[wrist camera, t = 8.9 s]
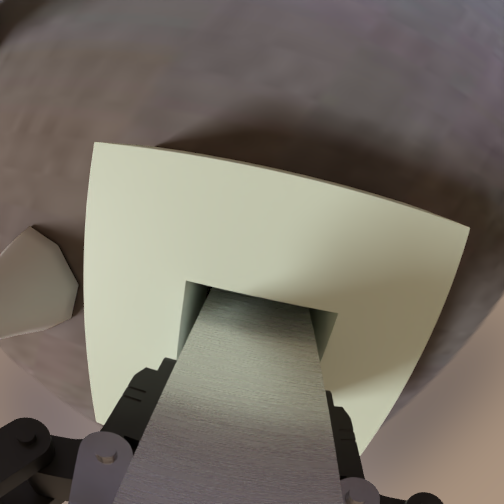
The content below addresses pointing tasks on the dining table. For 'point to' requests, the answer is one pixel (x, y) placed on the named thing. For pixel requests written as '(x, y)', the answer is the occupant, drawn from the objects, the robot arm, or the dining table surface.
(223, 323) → the rectangular block
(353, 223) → the well block
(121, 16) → the dining table surface
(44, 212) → the dining table surface
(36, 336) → the dining table surface
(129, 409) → the robot arm
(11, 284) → the flask
